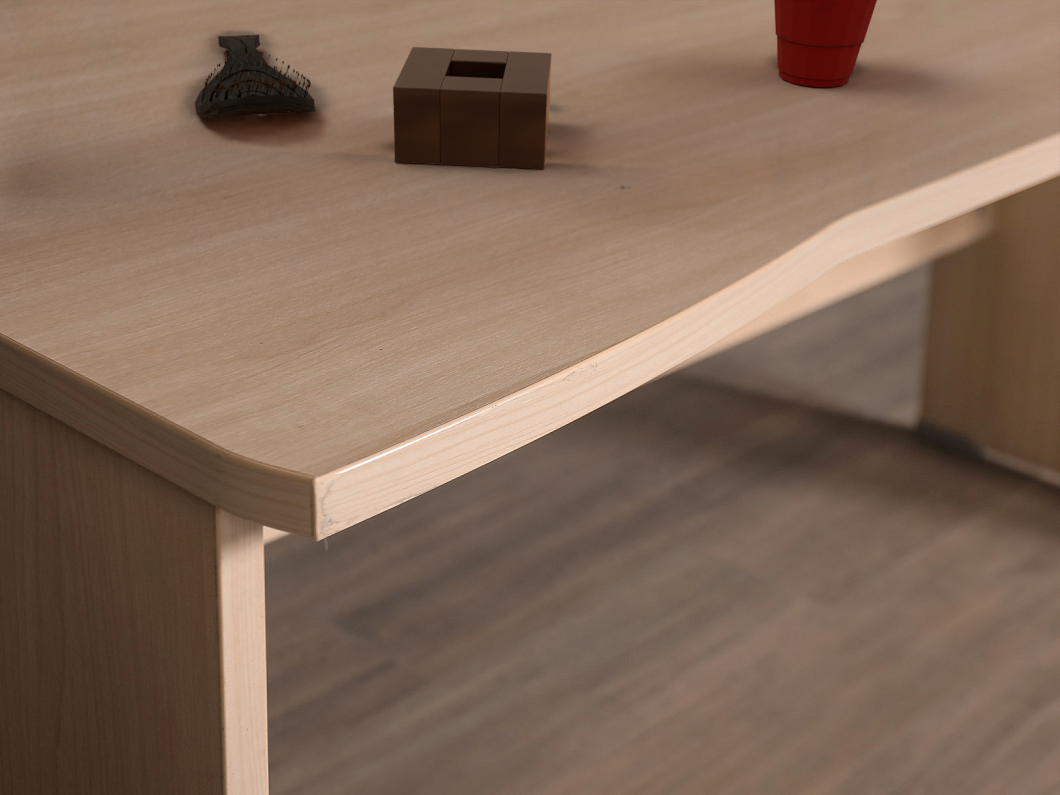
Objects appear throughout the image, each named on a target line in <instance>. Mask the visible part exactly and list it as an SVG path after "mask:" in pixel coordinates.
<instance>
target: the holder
mask: <svg viewBox="0 0 1060 795" xmlns="http://www.w3.org/2000/svg"><path fill="white" fill-rule="evenodd" d="M551 75H552V53H551V52H536V51H535V52H533V51H532V52H531V51H512V50H510V51H508V50H489V49H488V50H487V49H465V48H462V49H461V48H456V49H455V48H446V47H444V48H443V47H426V46H425V47H422V46H412V47H411V50H410V51H409V53H408V56H407V58H406V59H405V61H404V64H403V66H402V67H401V70H400V72H399V75H397V78H396V80H395V83H394V85H393V86H392V102H393V105H392V106H393V144H394V145H393V146H394V149H393V150H394V163H398V164H399V163H400V164H401V163H403V164H404V163H405V164H420V165H421V164H422V165H424V164H425V165H443V166H444V165H445V166H465V167H466V166H467V167H485V168H486V167H487V168H488V167H489V168H510V169H532V170H544V169H545V164H546V154H547V153H546V152H547V145H548V144H547V143H548V133H549V122H550V102H551V98H550V97H551V79H552V78H551V77H552V76H551Z"/></svg>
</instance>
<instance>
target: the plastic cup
mask: <svg viewBox="0 0 1060 795" xmlns="http://www.w3.org/2000/svg"><path fill="white" fill-rule="evenodd" d="M773 2H774V26H775V27H774V29H775V35H776V54H777V55H776V57H777V58H776V60H777V62H776V63H777V69H778V76H779V78H781V79H782V80H783V81H786V82H788V83H791V84H795V85H800V86H804V87H813V88H835V87H840V86H844V85H846V84H848V83H849V80H850V78H851V76H852V75H853V73H854V69H855V66H856V63H857V60H858V56H859V53H860V50H861V47H862V44H864V42H865V40H866V36H867V33H868V31H869V30H868V29H869V26H870V23H871V20H872V17H873V14H874V11H875V8H876V4H877V2H878V0H773Z"/></svg>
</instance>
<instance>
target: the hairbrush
mask: <svg viewBox="0 0 1060 795" xmlns="http://www.w3.org/2000/svg"><path fill="white" fill-rule="evenodd" d="M217 41H218V42H217V43H218V47H219V48H223V49H225V50H228V53H229V55H228V56H227V57H226V58H227V59H226V60H224V61H223V62H224V64H223V66H222V68H221V63H216V64H217V65H216V67H215V68H214V69H213V70H214V71H213V72H210V74H208V75H207V78H206V79H205V82H204V87H203V88H202V89H201V90H200V91H199V94H198V95H197V97H196V99H195V101H194V106H195V107H194V108H195V114H196V115H197V117H199V118H200V119H201V118H203V119H204V118H215V117H216V118H217V117H218V118H219V117H233V116H249V115H250V116H251V115H269V114H270V115H271V114H286V113H309V112H310V113H313V112H316V106H315V99H314V97H313V96H312V95H311V94H310V93H309V90H310V87H311V84H312V82H311V80H309V78H307V77H306V76H304V74H301V75H300V73H299V71H298V70H295V69H293V70H292V74H295V75H296V76H295V78H294V79H293V78H292V76H290V74H289V70H290V67H291V65H290V64H288V65H287V68H286V72H284V74H283V73H282V68H283V67H281V68H280V70H278V66H276V65H273V66H271V65H269V63H268V62H269V61H270V60H269V59H270V58H271V54H270V53H269V54H268V58H267V61H266V60H265V59H264V57H263V54H264V53H263V52H262V51H261V52H259V51H258V50H257V48H259V47H260V46H261V41H260V34H243V35H241V34H240V35H218V36H217ZM278 59H279V58H277V57H276V58H275V62H277V61H278ZM281 62H282V65H284V64H285V61H284V60H283V61H281ZM218 67H219V68H221V70H220V71H219V68H218ZM295 71H296V72H295ZM216 72H217V73H216ZM299 76H300V77H301V78H300V81H299V82H298V83H297V80H298V77H299ZM302 79H303V81H302ZM301 81H302V83H301ZM301 84H302V85H301ZM300 85H301V86H300ZM304 86H305V88H304Z"/></svg>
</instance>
